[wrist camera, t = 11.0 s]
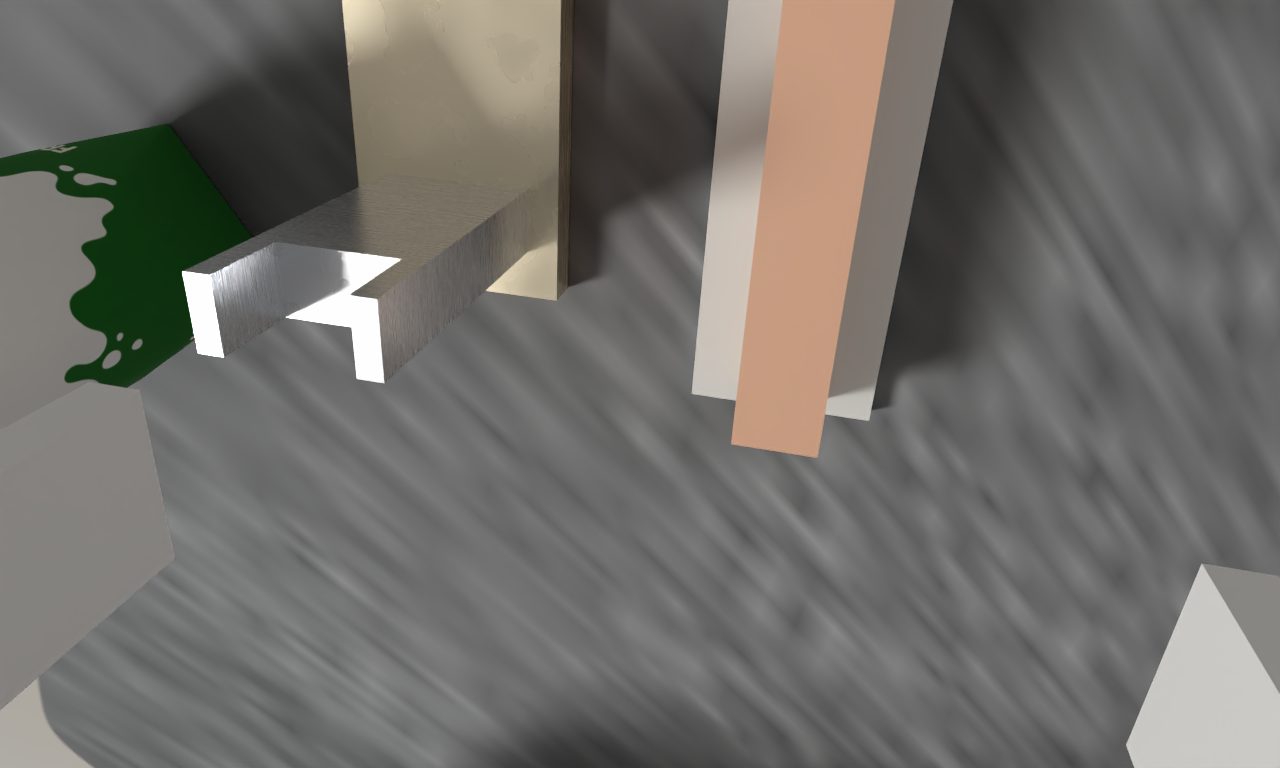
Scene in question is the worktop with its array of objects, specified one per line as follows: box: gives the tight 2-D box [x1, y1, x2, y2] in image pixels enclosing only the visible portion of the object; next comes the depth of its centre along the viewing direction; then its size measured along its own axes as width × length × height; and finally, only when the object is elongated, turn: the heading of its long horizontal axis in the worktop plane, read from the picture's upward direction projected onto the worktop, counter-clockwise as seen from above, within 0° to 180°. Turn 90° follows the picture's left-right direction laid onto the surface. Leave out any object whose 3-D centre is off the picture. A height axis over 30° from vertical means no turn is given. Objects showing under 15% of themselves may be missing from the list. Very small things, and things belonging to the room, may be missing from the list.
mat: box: [692, 0, 953, 421], centre depth 29 cm, size 27×7×1 cm, turn 177°
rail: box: [731, 0, 895, 458], centre depth 27 cm, size 26×3×4 cm, turn 177°
